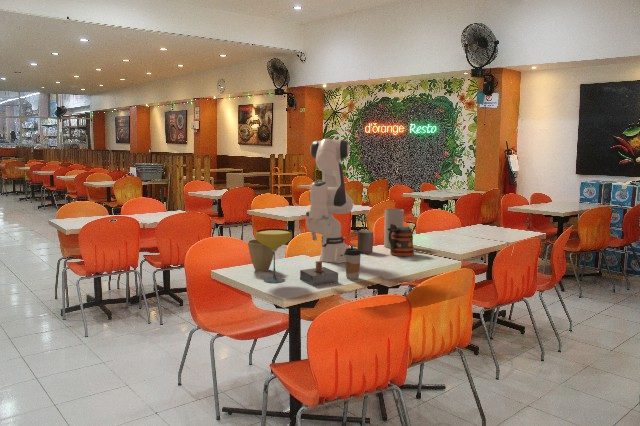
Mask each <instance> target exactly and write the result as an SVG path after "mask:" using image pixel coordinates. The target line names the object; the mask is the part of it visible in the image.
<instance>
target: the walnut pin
mask: <svg viewBox="0 0 640 426" xmlns="http://www.w3.org/2000/svg"><path fill="white" fill-rule="evenodd" d="M322 267H323V261H320V260H317V261H315V268H316V273H320V272H322Z"/></svg>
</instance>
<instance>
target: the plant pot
mask: <svg viewBox="0 0 640 426" xmlns="http://www.w3.org/2000/svg"><path fill="white" fill-rule="evenodd" d="M247 246H248V251H249V252H248V253H249V256H250V260H251V262H252V265H253V269H254V271H255V272H258V273H259V272H260V273H261V272H263V273H264V272H268V271H269V270H270V267H271V264H272V261H273V259H274V252H273V251H272V250H271V249H270V248H269V247H268V246H266V245H264V244H262V243H260V242H259V241H258V240H257V239H256V238H254V239H251V240H247Z"/></svg>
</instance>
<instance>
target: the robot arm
mask: <svg viewBox="0 0 640 426" xmlns="http://www.w3.org/2000/svg"><path fill="white" fill-rule="evenodd" d="M350 147H351V146H350V144H349V142H348V141H347V140H344V139H331V138H323V139H322V140H319V139H318V140H314V141H313V142H311V144H310V147H309V148H310V149H309V152H310V155H311V157H312V158H313V159H315V166H316V167H317V169H318V170H320V171H321V172H322V173H321V174H322V175H321V177H322V178H321V179H322V180H317V181H313V182H311V185H310V191H309V196H308V197H309V202H310V208H309V210H308V211H306V212H305V216H306V223H305V224H306V229H307V231H310V234H311V237H312V241H317V240H318V236H317V234H318V235H321V239H320V241H321V251H320V257H319V259H318V261H322V263H323V262H325V263H336V264H341V263H345V251H346V249H348V248H351V247H350V246H349V245H348V244H346V243H345V242H344V241H347V239H348V238H347V237H345V236H342V224H341V222H340V220H338V219H336V218H335V217H334V215H333V214H339V215H343V214H349V213H351V212H352V210H353V207H354V201H353V199H352V197H351V196H350V195H349V194H348V193H347V190H346V186H345V185H346V184H345V182H346V181H345V175H344V171H343V165H342V161H344V160H345V159H346V158H348V157H349V154H350V151H351V148H350Z"/></svg>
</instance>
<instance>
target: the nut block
mask: <svg viewBox="0 0 640 426" xmlns="http://www.w3.org/2000/svg"><path fill="white" fill-rule="evenodd" d="M299 274H300V275H299V280H300V281H301V282H304V283H306V284H308V285H310V286H311V287H317V286H318V287H319V286H325V285H332V284H338V283H339V272H337V271H335V270H332V269H330V268H327V267H325V266H324V267H323V266H322V272H320V273H316V267H314V268H313V267H312V268H305V269H299ZM337 282H338V283H337ZM331 283H332V284H331Z"/></svg>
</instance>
